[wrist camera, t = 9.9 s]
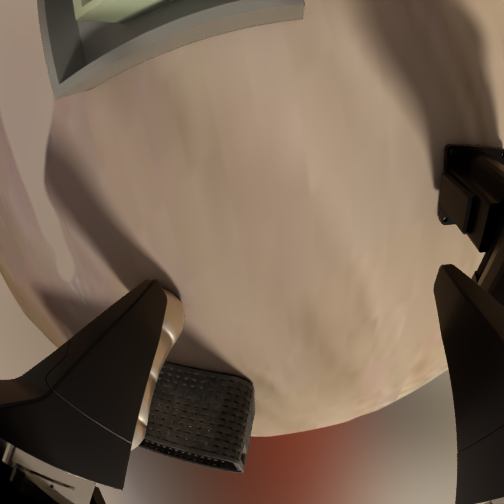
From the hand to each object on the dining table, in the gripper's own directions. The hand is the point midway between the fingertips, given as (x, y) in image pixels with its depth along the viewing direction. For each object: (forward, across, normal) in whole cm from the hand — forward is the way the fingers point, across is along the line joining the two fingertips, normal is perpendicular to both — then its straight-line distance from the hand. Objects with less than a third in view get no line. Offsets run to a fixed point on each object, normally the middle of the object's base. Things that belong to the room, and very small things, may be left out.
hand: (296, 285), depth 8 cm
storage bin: (+12, +24, +36) cm, 45 cm away
